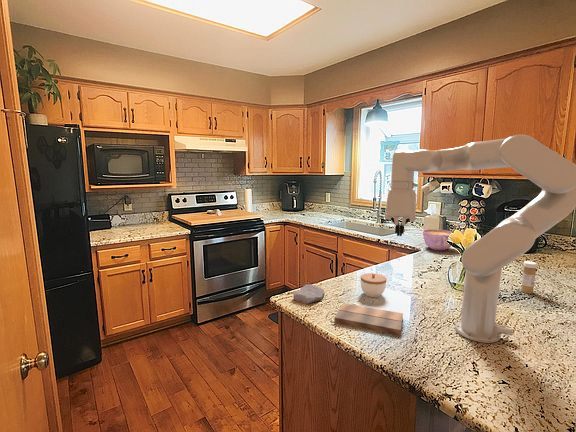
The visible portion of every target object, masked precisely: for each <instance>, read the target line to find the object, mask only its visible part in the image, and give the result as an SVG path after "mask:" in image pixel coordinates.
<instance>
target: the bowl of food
mask: <svg viewBox="0 0 576 432" xmlns="http://www.w3.org/2000/svg"><path fill="white" fill-rule="evenodd" d="M452 232H453V231H451V230H446V229H437V228H436V229H433V228H431V229H428V228H427V229H423V230H422V234H423V235H422V236H423V240H424V241H423V242H424V244H425V245H426V246H427V247H428V248H429V249H431V250H433V251H439V252H440V251H445V250H447V249H449V248H450V247H451V248H452V245H450V244H448V242H447V241H448V237H449V235H450V234H451V233H452Z"/></svg>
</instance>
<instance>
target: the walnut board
mask: <svg viewBox="0 0 576 432" xmlns="http://www.w3.org/2000/svg"><path fill="white" fill-rule="evenodd" d="M333 321H334V323H335V324H339V325H344V326H349V327H355V328H358V329H359V328H360V329H363V330H369V331H370V330H371V331H374V332H375V331H376V332H380V333H384V334H390V335H393V336H394V335H395V336H401V335H402V327H403V321H402V322H401V321H396V320H390V319H385V318H379V317H373V316H368V315H362V314H357V313H351V312H346V311H340V310H339V309H338V311H337V312H336V314H335V316H334V320H333Z"/></svg>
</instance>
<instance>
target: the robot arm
mask: <svg viewBox="0 0 576 432" xmlns="http://www.w3.org/2000/svg"><path fill="white" fill-rule="evenodd" d="M391 163H392V165H391V181H390V182H391V183H390V189H389V190H388V193H387V199H386V207H385V217H384V218H385V219H386V220H388V221H391V222H392V223H393V224H394V225H395V228H394V229H395V231H394V233H395V234H396V237H402V235H404V234H405V226H406V224H408V223H409V222H414V221H417V216H416V213H417V212H416V211H417V194H416V193H417V192H416V189H414V188H417V187H418V186H419V183H418V182H414V181H415V180H414V179H415V178H414V176H415V172H417V173H418V172H419V173H432V172H433V173H434V172H447V171H462V170H464V171H476V170H487V169H488V170H489V169H499V168H500V169H502V168H503V169H504V168H512V170H514V171H516V172H517V173H518V174H519V175H521V176H523V177H524V178H526V179H527V180H528V181H530V182H532V183H533V184H534V185H536V186H538V187H539V188H540V189H541V191H540V193H539V194H538V195H537V196H536V197H535V198H534V199H532V200H531V201H529V202H528V203H527V204H526V205H525V206H524V207H522V208H521V209H520V210H518V211H516V212H515V213H514V214H512V215H511V216H509V217H507V218H505V219H503V220H502V221H500V223H498V225H496V226H495V227H494V228H492V229H491V230H490V231H489V232H487V233H486V234H484V235H483V236H482V237H481V238H478V239H476V240H474V241H472V242H471V243H470V244H469V245H468V246H467V247H466V248H465V250H463V253H462V255H461V264H462V266H463V268H464V270H465V276H464V284H463V285H464V286H463V295H462V307H461V316H460V317H461V318H460V321H456V323H455V324H454V329H455V331H456V333H458V334H459V335H460V336H463V337H464V338H466V339H468V340H470V341H473V342H477V343H484V344H494V343H496V342H498V341H500V338H501V334H502V335H508V336H513V335H514V330H513V329H512V328H507V326H506V325H504V324H498V323H497V322H496V320H497V310H498V301H499V292H500V284H501V276H502V271H503V270H502V269H503V268H504V267H506V266H507V265H510V264H511V263H512V262H514V261H515V260H517V259H518V258H520V257H521V256H523V255H524V254H525V253H527V252H528V251H529V250H530V249H531V248H532V247H533V245H534V244H535V242H536V239H537V238H540V236H542V235H543V234H544V233H546V232H548V231H549V230H551V229H552V228H553V227H554V226H555V225H557V224H558V223H560V222H562V221H563V220H564V219H565V218H567V217H568V216H569V215H570V214H571V213H572V212H573V211H574V210H575V208H576V163H574V162H573V161H571V160H569V159H567V158H566V157H565V156H562V155H560V154H559V153H558V152H556V151H554V150H553V149H551V148H550V147H547V146H546V145H545V144H543V143H542V142H540V141H538V140H537V139H536V138H534V137H533V136H530V135H528V134H523V133H522V134H514V135H512V136H509V137H505V138H499V139H491V140H483V141H473V142H470V143H466V144H464V145H463V146H459V147H458V146H457V147H454V148H446V149H436V150H432V149H418V150H414V151H413V150H411V151H409V150H408V151H407V150H404V151H403V150H399V151H395V152H394V153H393V154H392V162H391ZM399 218H402V220H401V223H400V222H399Z"/></svg>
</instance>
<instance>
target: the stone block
mask: <svg viewBox="0 0 576 432" xmlns="http://www.w3.org/2000/svg"><path fill="white" fill-rule="evenodd" d="M325 292H326V291H325V290H324V289H323V288H321V287H319V286H317V285H314V284H305V285H303V286H301V288H300V289H299V290H294V292H293V300H294V301H296V302H301V303H303V304H306V305H308V304H312V303H314V302H318V301H320V300H322V299H323V298H324V296H325V294H326V293H325Z"/></svg>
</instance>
